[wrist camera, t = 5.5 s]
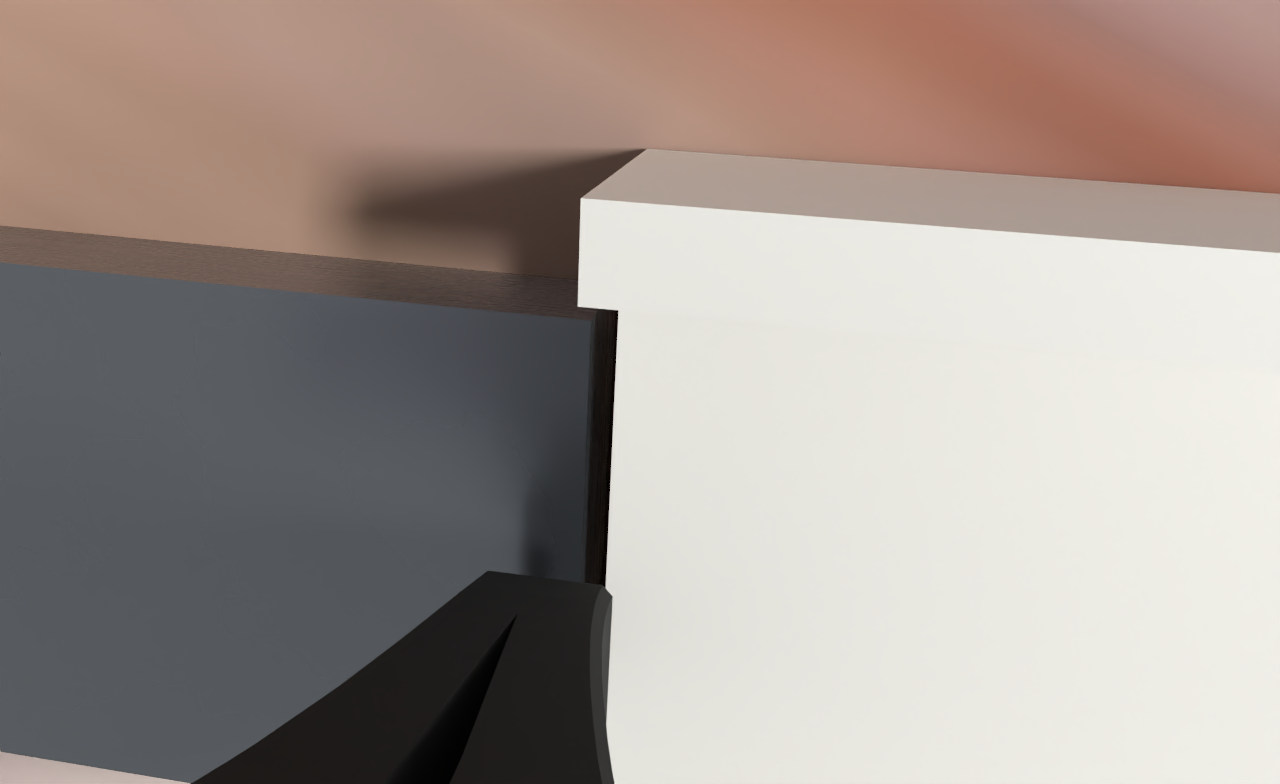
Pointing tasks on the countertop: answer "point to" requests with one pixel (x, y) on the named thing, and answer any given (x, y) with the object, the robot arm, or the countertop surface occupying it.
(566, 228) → the countertop surface
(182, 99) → the countertop surface
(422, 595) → the slate block
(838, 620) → the open front case
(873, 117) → the countertop surface
